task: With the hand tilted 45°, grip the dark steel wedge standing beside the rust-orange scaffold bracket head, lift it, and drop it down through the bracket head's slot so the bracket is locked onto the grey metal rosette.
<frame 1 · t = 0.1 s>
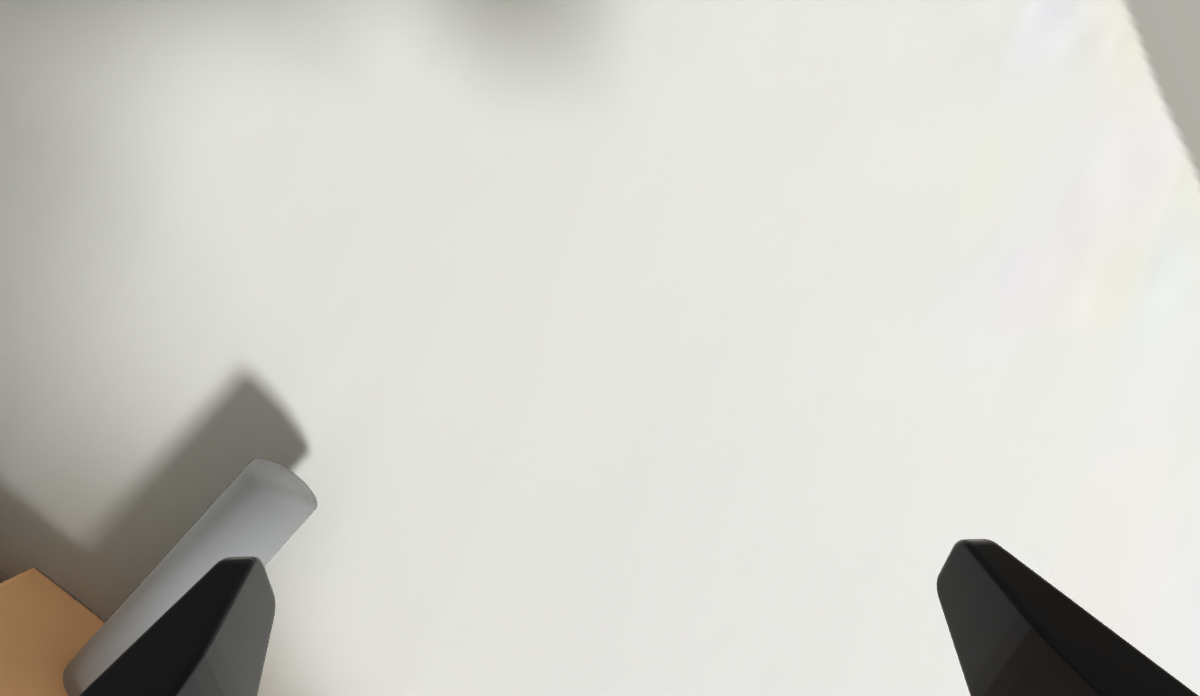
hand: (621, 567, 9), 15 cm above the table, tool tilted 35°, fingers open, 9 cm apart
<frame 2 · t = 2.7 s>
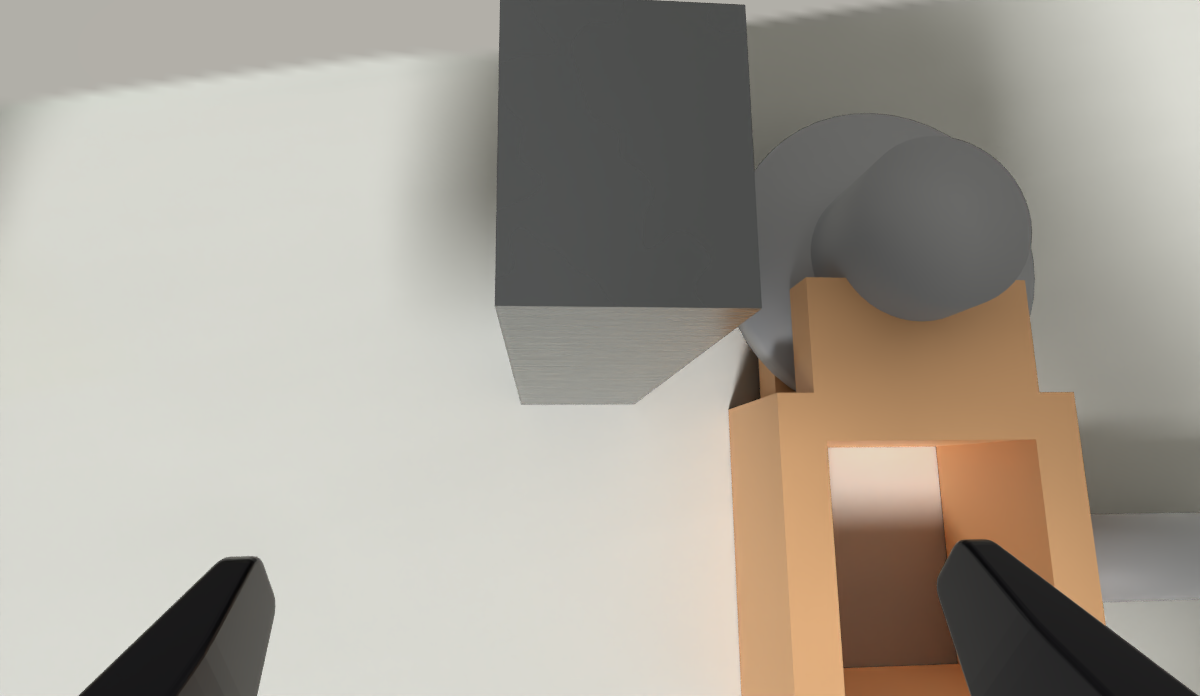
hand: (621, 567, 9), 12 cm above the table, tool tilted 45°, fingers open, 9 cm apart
bracket head: (861, 554, 21), on the table
steel wedge: (577, 332, 22), on the table
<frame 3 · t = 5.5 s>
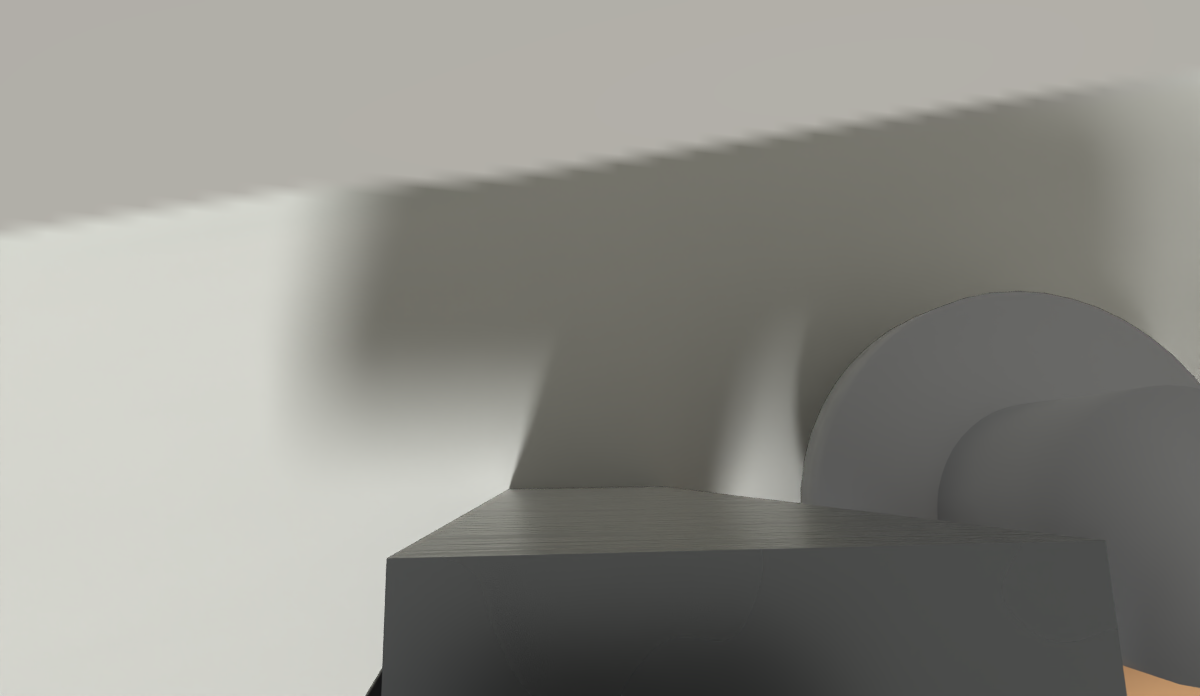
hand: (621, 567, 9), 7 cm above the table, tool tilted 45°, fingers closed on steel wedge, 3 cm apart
steel wedge: (587, 591, 15), on the table, touching gripper
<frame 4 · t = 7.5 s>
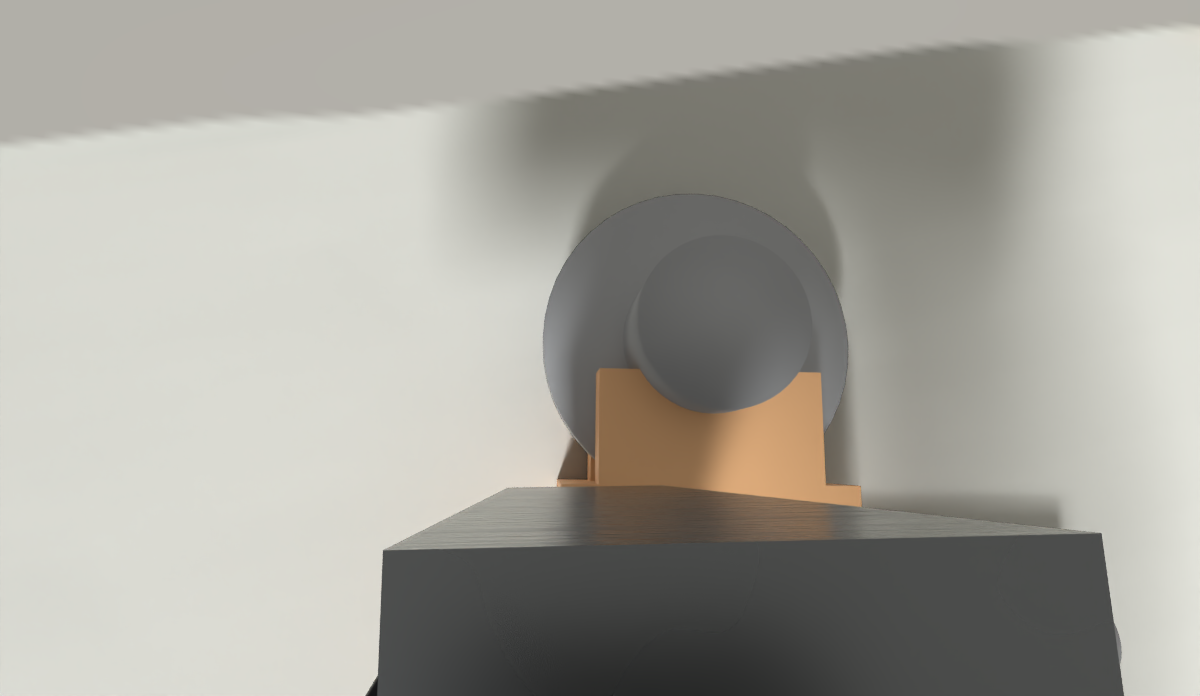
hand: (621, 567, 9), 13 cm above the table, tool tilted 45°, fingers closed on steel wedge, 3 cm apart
bracket head: (680, 624, 21), on the table
steel wedge: (586, 590, 15), point 7 cm above the table, touching gripper
when the fingers open (8 cm above the table, at t = 9.9 s): steel wedge drops 1 cm, resting in bracket head.
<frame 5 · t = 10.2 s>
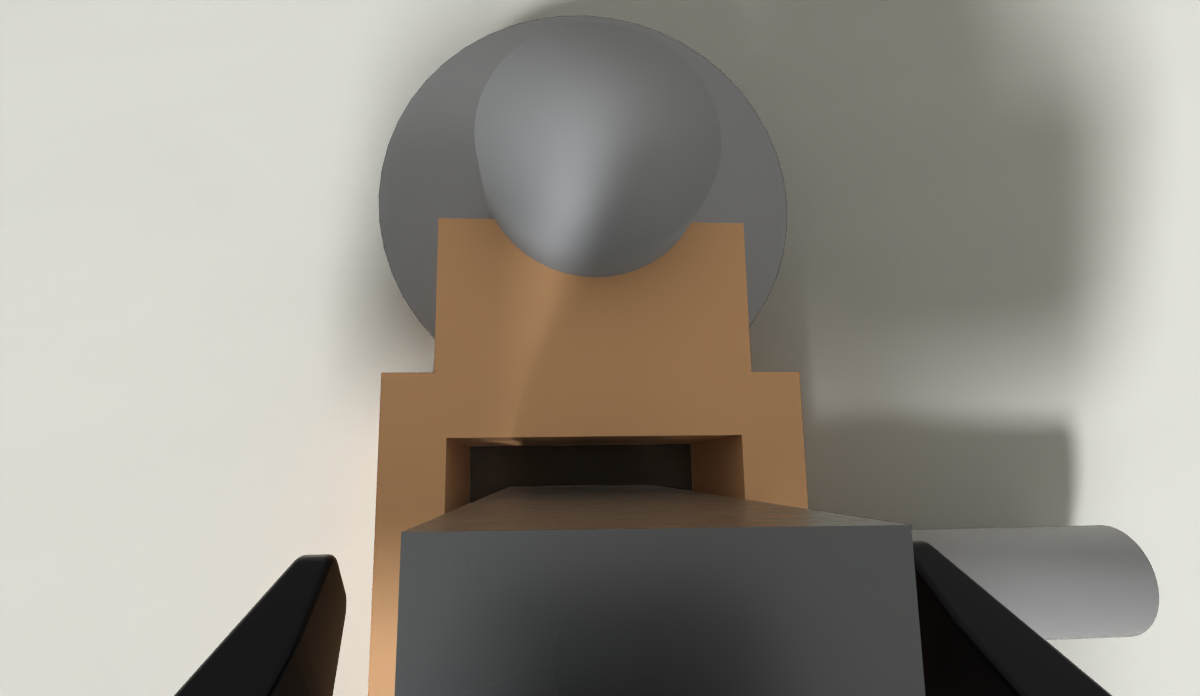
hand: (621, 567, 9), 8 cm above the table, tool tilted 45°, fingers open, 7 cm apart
bracket head: (583, 580, 17), on the table
steel wedge: (581, 580, 17), resting in bracket head
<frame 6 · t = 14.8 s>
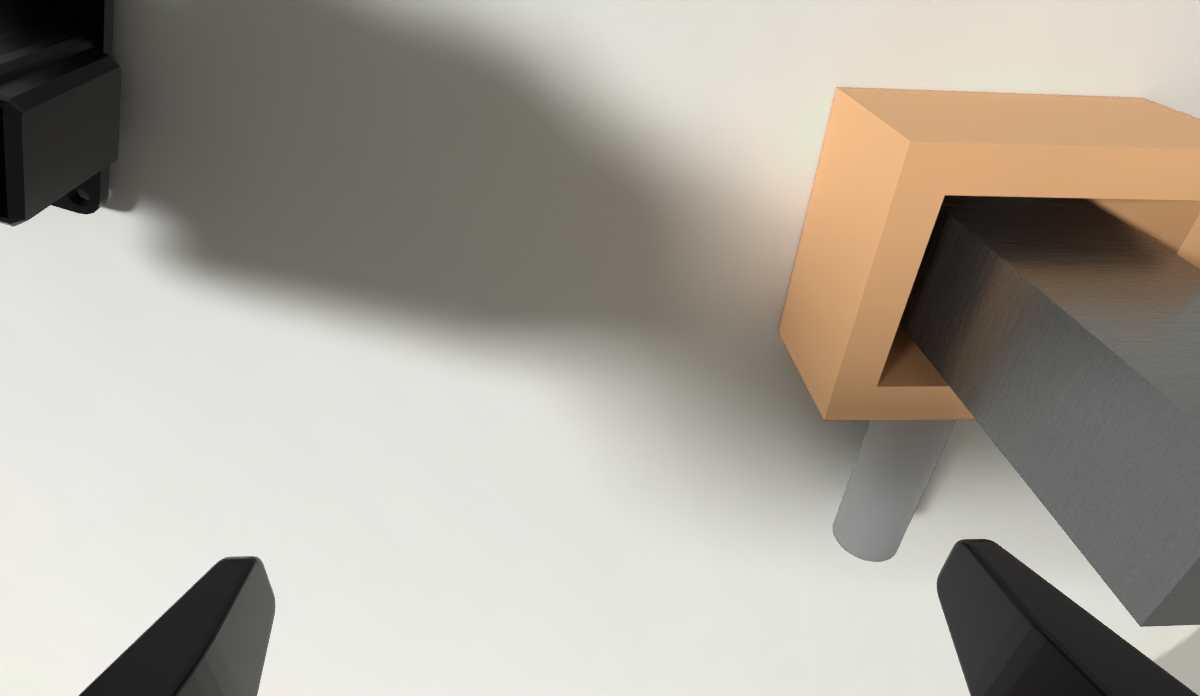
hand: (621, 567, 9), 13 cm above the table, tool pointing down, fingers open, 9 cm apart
bracket head: (944, 225, 21), on the table
steel wedge: (944, 223, 21), resting in bracket head
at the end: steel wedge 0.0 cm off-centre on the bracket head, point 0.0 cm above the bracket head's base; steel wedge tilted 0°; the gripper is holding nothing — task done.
